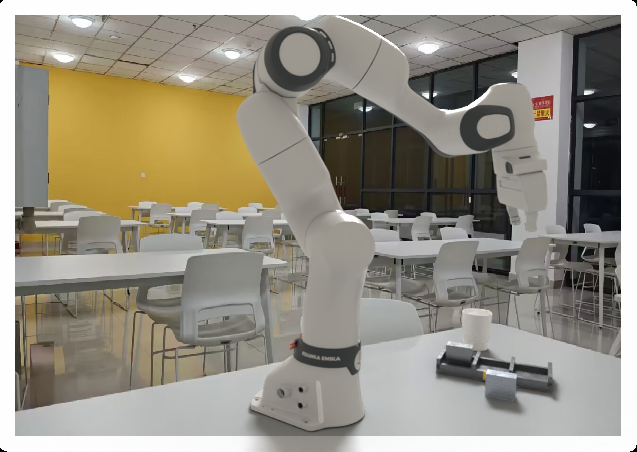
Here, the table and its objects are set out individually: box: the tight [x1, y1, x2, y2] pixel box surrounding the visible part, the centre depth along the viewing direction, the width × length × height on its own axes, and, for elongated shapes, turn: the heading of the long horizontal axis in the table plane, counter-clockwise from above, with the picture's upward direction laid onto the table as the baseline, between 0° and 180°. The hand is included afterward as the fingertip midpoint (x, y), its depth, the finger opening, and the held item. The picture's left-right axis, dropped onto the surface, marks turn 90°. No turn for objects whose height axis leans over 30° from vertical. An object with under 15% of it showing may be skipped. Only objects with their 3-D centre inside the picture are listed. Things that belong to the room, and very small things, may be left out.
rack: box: [435, 340, 554, 393], centre depth 120 cm, size 25×10×6 cm, turn 66°
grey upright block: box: [484, 369, 517, 402], centre depth 109 cm, size 6×3×5 cm, turn 66°
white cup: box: [461, 307, 493, 352], centre depth 140 cm, size 8×8×10 cm
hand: (523, 227), depth 108 cm, fingers open, 8 cm apart
